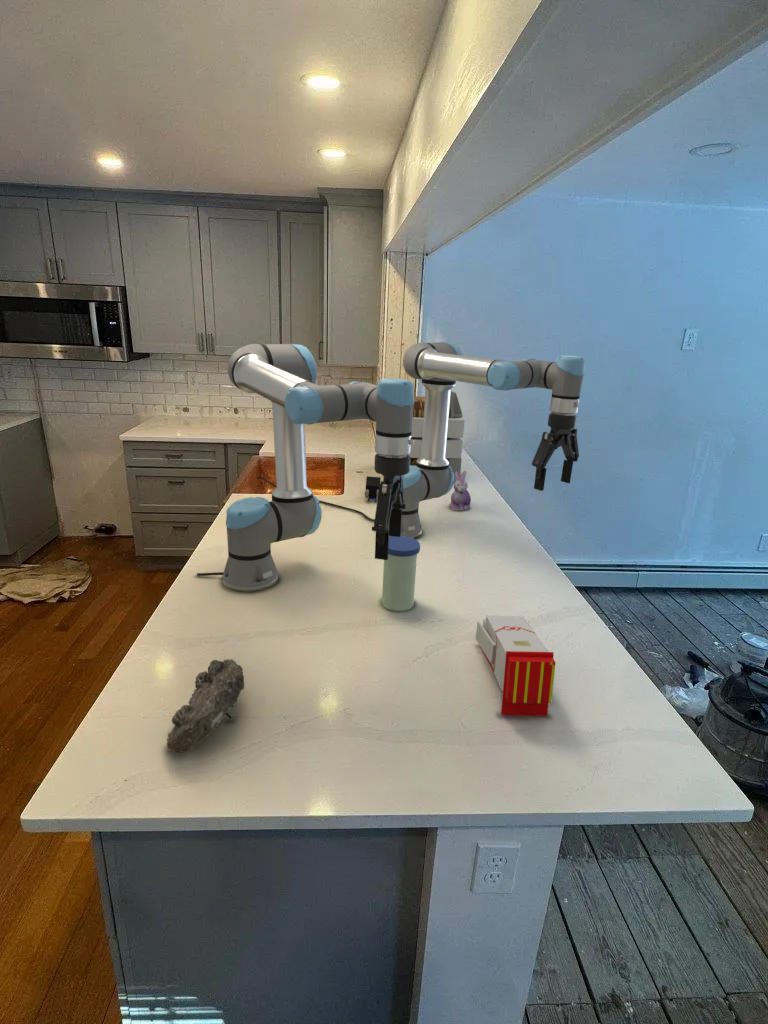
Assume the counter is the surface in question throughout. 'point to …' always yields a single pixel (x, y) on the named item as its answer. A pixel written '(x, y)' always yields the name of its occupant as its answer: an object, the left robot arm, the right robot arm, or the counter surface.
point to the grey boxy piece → (453, 433)
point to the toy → (518, 664)
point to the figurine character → (372, 487)
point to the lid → (403, 546)
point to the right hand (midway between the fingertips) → (552, 485)
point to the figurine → (460, 493)
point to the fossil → (206, 705)
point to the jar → (399, 582)
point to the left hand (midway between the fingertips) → (388, 546)
